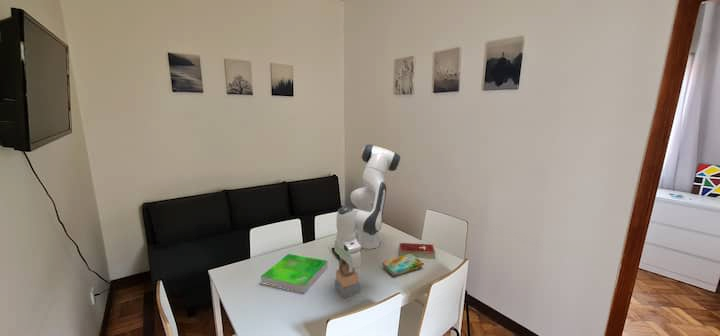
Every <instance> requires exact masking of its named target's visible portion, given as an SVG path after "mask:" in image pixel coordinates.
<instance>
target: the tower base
mask: <svg viewBox="0 0 720 336" xmlns="http://www.w3.org/2000/svg"><path fill="white" fill-rule="evenodd" d="M334 289H335V290H336V291H337V293H339V295H340V296H341V297H342V298H343V299H345V298H349V297H351V296H354V295H357V294H360V293H361V283H360V281H358V284H354V285H351V286H348V287H344V288H343V287H342V286H341V285H340V284H339V282H338V281H337V280H336V279H334Z"/></svg>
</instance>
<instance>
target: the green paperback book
mask: <svg viewBox="0 0 720 336" xmlns="http://www.w3.org/2000/svg"><path fill="white" fill-rule="evenodd" d="M327 269H328V260H326V259H325V260H324V259H321V258H314V257H310V256H309V257H308V256H303V255H296V254H292V253H287V254H286V255H285V256H284V257H282V258H281V259H280V260H279V261H277V263H276V264H275V263H274V265H272V267H271V268H269V269H268V270H267V271H265V272H264V273H263V274H262V275H261V276H260V281H261V282H262V283H266V284H269V285H274V286H277V287H281V288H285V289H289V290H288V291H290V290H293V291H292V292H294V291H297V292H296V293H299V292H301V293H300V294H304V293H305V294H306V293H307V292H308V291H309V290H310V289H311V288H310V287H312V286H314V284H315V283H316V282H317V280H319V278H320V277H322V275H323V274H324V273H325V271H326V270H327ZM261 282H260V283H261ZM281 288H280V289H281ZM309 288H310V289H309ZM285 289H284V290H285Z"/></svg>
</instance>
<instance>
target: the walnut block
mask: <svg viewBox="0 0 720 336" xmlns="http://www.w3.org/2000/svg"><path fill="white" fill-rule="evenodd" d="M348 267H349V265H348V263H347V262H345V261H344V260H339V259H338V269H339V270H340V271H341V272H342V273H343V275H347V274H350V273H353V272H355V271H356V270H355V269H356V268H354V269H353V268H352V272H349V271H348Z"/></svg>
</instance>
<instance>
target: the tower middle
mask: <svg viewBox="0 0 720 336" xmlns="http://www.w3.org/2000/svg"><path fill="white" fill-rule="evenodd" d="M335 278H336V279H335V280H337V281H338V282H339V284H340V285H341V286H342V287H343V288H344V287H348V286H351V285H354V284H358V282H359V273H358V272H357V271H356V270H355V272H353V273H350V274H347V275H343V273H342V272H341V271H340V270H339V268H338V269H336V270H335Z"/></svg>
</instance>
